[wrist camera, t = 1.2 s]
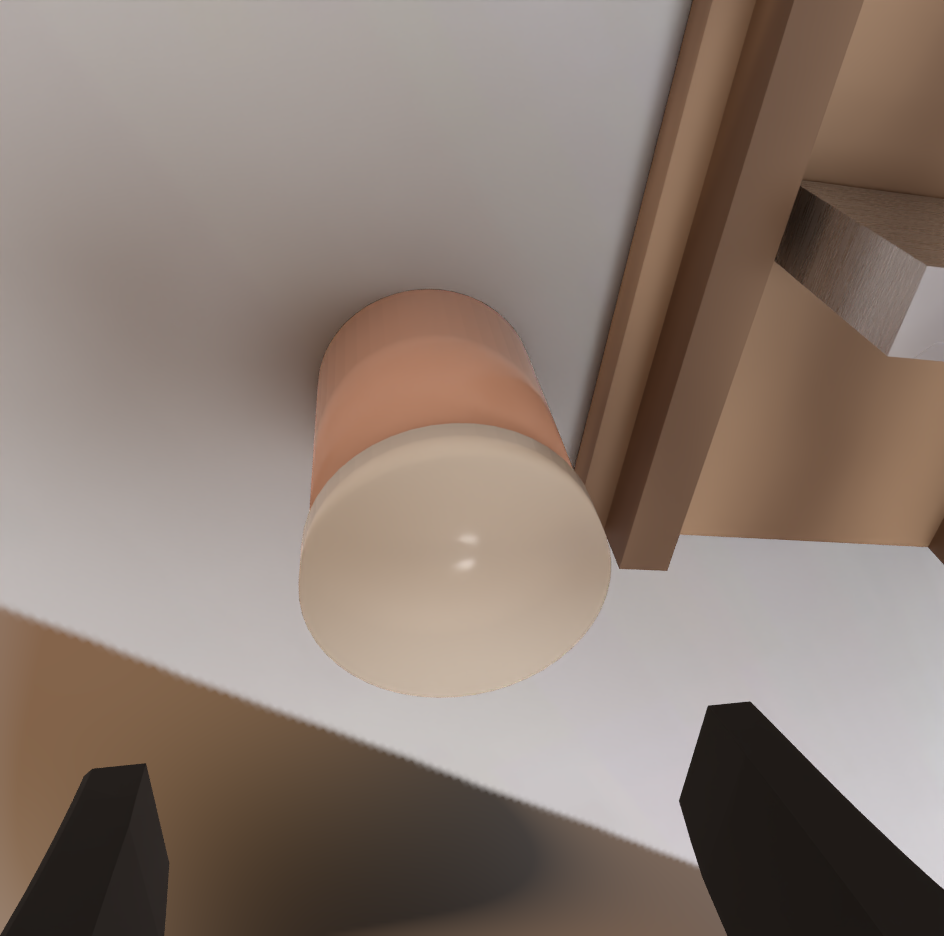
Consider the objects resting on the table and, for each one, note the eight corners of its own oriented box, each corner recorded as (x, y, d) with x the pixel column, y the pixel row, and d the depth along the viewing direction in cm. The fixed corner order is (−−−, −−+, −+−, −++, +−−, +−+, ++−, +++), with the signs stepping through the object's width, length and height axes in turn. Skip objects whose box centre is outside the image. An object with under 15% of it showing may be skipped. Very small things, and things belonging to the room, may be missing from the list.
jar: (555, 296, 19) (645, 467, 13) (515, 489, 22) (574, 699, 16) (319, 272, 18) (306, 445, 13) (308, 477, 21) (292, 695, 15)
